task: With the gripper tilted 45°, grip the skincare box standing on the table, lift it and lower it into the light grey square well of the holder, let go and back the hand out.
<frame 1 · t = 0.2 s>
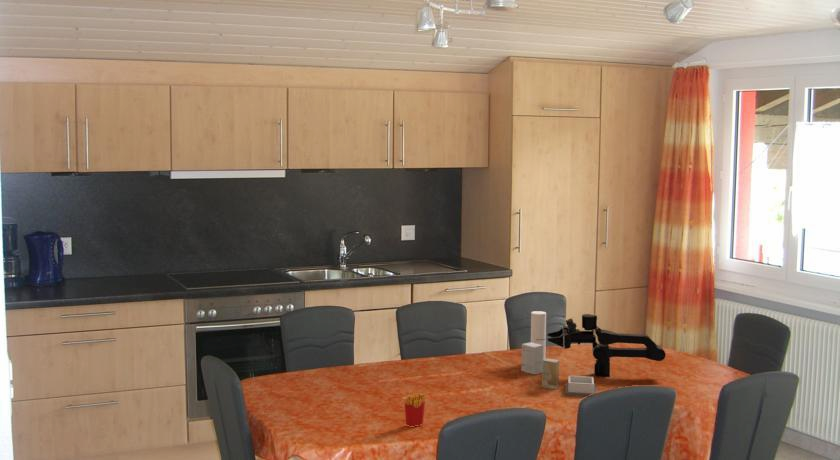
hand: (547, 337, 378), 17 cm above the table, tool horizontal, fingers open, 9 cm apart
french fries: (415, 425, 311), on the table
small box: (532, 372, 380), on the table
skincare box: (550, 387, 357), on the table
cylindrical container: (537, 364, 394), on the table
holder: (580, 391, 352), on the table
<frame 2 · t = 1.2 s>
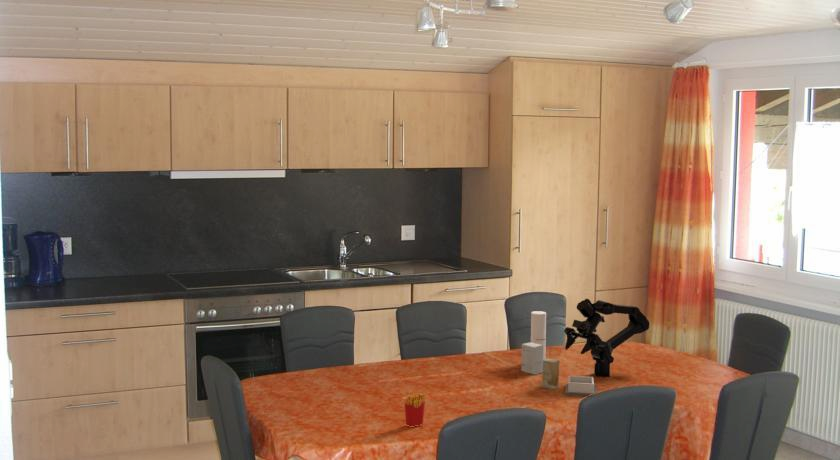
hand: (573, 351, 364), 14 cm above the table, tool tilted 45°, fingers open, 9 cm apart
nothing on the table moved.
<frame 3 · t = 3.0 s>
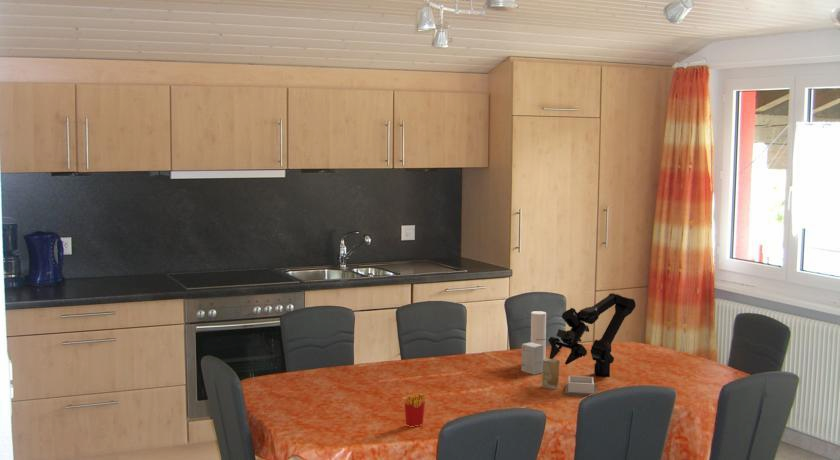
hand: (557, 361, 359), 11 cm above the table, tool tilted 45°, fingers open, 9 cm apart
nothing on the table moved.
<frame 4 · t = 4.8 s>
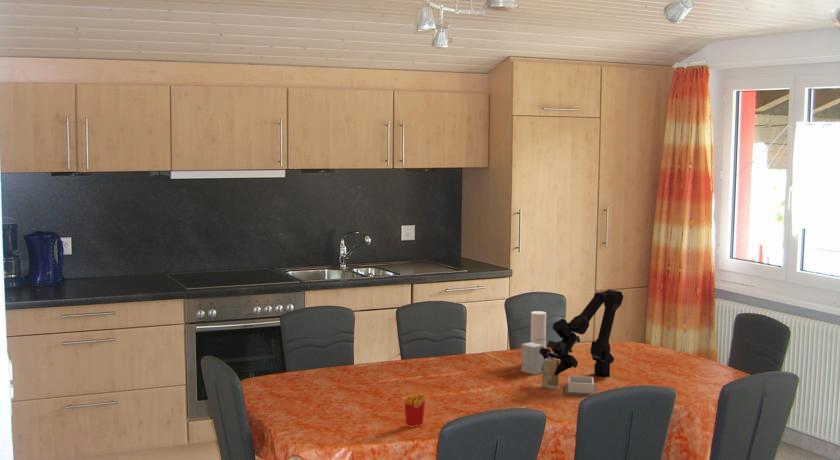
hand: (548, 373, 356), 7 cm above the table, tool tilted 45°, fingers closed on skincare box, 7 cm apart
skincare box: (550, 387, 357), on the table, touching gripper
everything else where it was.
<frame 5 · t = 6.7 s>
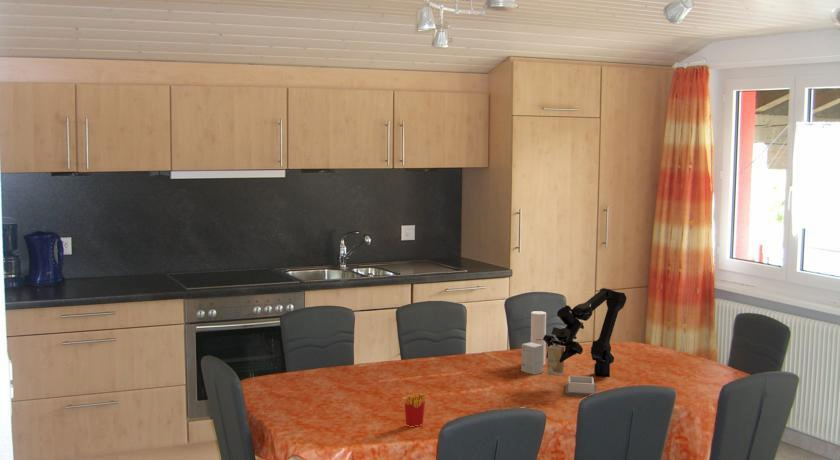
hand: (553, 360, 354), 13 cm above the table, tool tilted 45°, fingers closed on skincare box, 7 cm apart
skincare box: (555, 374, 356), point 6 cm above the table, touching gripper
everything else where it was.
when the fingers open (9 cm above the table, at t = 9.1 s): skincare box drops 1 cm, resting on holder.
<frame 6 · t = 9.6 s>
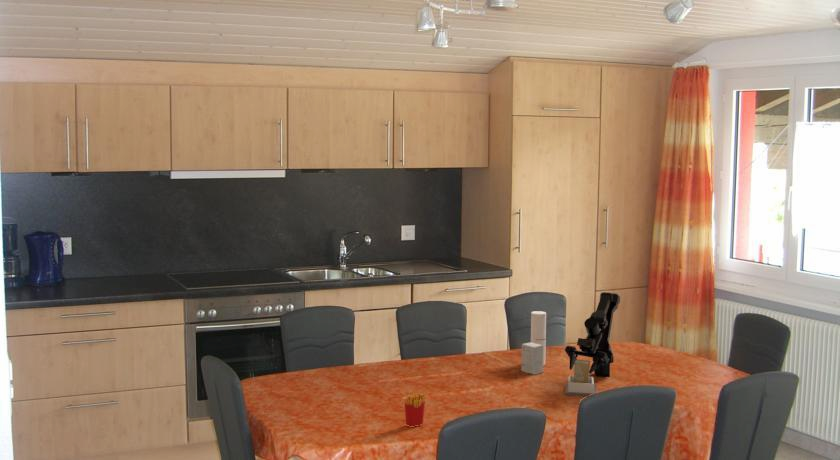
hand: (579, 371, 350), 9 cm above the table, tool tilted 45°, fingers open, 9 cm apart
skincare box: (581, 389, 352), point 1 cm above the table, touching holder
everything else where it was.
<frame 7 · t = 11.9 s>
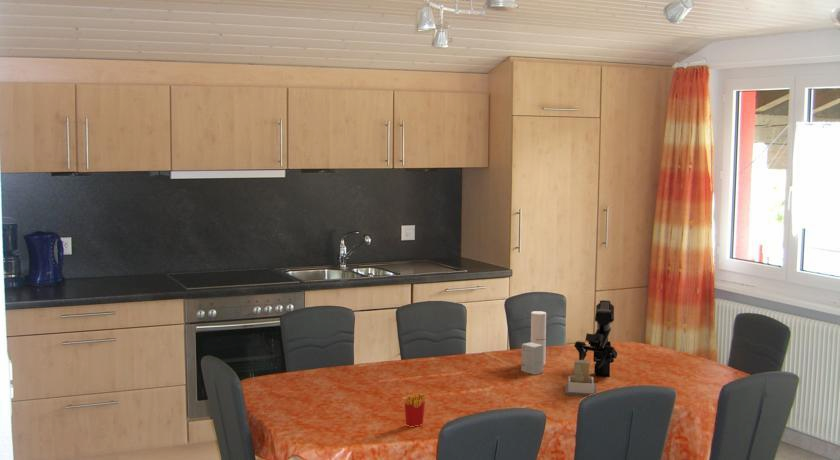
hand: (589, 366, 357), 9 cm above the table, tool tilted 45°, fingers open, 9 cm apart
nothing on the table moved.
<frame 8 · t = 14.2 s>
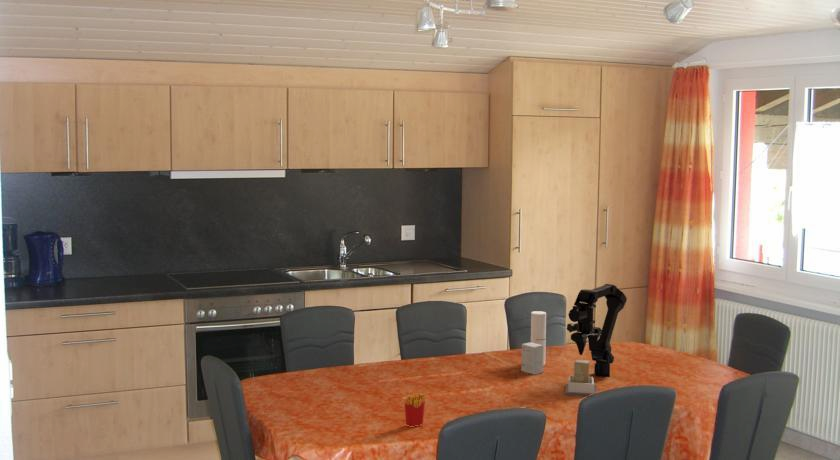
hand: (585, 352, 365), 13 cm above the table, tool pointing down, fingers open, 9 cm apart
nothing on the table moved.
at the end: skincare box 0.2 cm off-centre on the holder, point 0.8 cm above the holder's base; skincare box tilted 0°; the gripper is holding nothing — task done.
